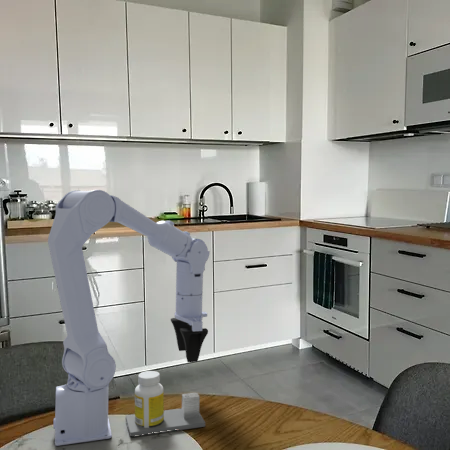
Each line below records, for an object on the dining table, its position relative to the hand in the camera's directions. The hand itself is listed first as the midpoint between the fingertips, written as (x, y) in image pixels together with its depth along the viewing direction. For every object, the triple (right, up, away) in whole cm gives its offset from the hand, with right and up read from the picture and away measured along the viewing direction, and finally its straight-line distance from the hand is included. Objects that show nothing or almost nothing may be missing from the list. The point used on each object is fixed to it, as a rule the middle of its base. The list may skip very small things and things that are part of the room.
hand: (187, 355), depth 98 cm
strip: (-3, -10, -11) cm, 15 cm away
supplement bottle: (-6, -10, -12) cm, 17 cm away
